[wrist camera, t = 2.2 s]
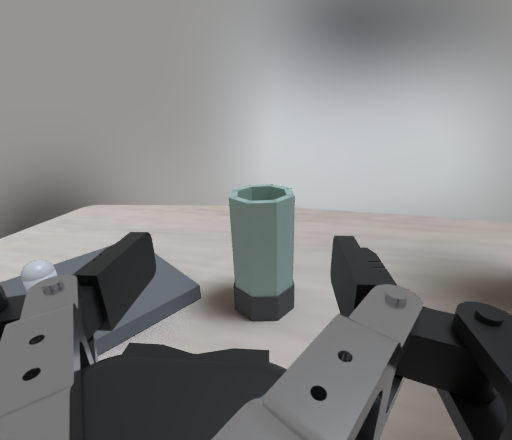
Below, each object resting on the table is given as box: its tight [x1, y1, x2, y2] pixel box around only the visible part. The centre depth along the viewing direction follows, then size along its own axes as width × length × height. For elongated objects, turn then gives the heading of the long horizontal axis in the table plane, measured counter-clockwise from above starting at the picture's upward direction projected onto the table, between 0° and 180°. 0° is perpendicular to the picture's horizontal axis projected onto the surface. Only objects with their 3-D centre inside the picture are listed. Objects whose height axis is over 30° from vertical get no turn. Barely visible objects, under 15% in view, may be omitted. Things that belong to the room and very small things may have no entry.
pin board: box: [0, 246, 201, 356], centre depth 25 cm, size 22×16×6 cm
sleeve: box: [229, 184, 295, 321], centre depth 25 cm, size 6×6×11 cm
